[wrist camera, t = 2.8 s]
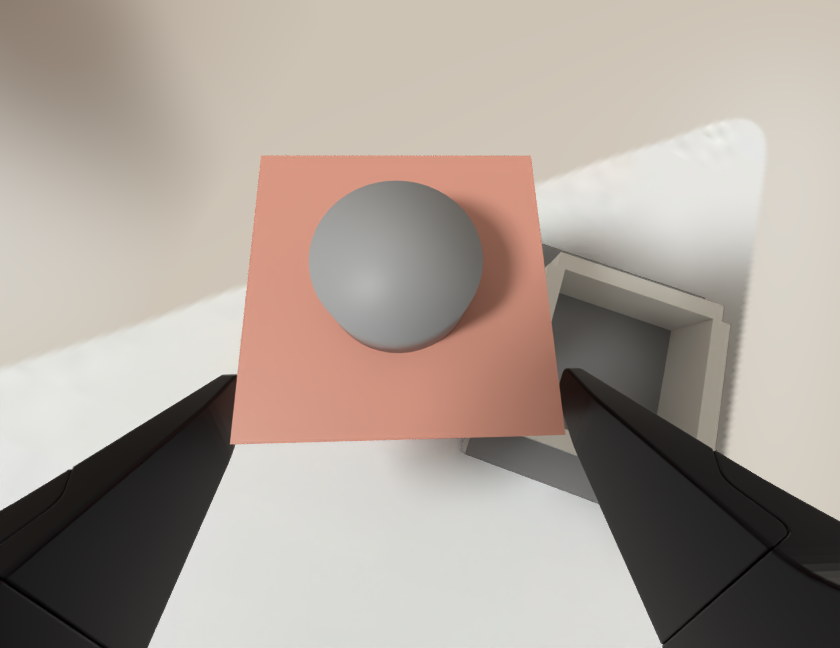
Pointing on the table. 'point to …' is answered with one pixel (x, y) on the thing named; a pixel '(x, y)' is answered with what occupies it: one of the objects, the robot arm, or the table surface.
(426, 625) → the table surface
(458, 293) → the pink square bar
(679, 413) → the grey socket base
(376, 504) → the table surface
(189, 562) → the table surface
